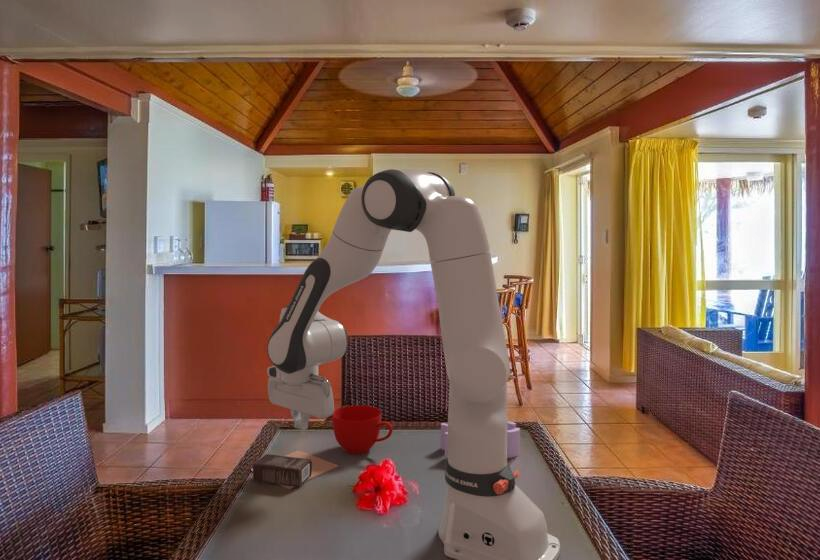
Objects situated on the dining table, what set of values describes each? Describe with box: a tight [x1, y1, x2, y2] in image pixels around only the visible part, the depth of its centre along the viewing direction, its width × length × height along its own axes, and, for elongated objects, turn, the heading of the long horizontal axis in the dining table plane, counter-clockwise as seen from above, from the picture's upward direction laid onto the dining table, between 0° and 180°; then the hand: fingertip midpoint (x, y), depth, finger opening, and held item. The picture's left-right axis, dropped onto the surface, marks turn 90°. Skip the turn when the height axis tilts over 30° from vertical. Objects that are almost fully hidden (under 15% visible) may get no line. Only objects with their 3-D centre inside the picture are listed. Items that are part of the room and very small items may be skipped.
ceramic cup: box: [331, 404, 394, 455], centre depth 139 cm, size 13×17×10 cm
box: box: [252, 453, 312, 488], centre depth 123 cm, size 6×4×12 cm
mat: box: [250, 450, 339, 490], centre depth 129 cm, size 15×15×1 cm
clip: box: [440, 420, 521, 460], centre depth 139 cm, size 20×12×7 cm, turn 96°
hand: (301, 428), depth 126 cm, fingers closed
